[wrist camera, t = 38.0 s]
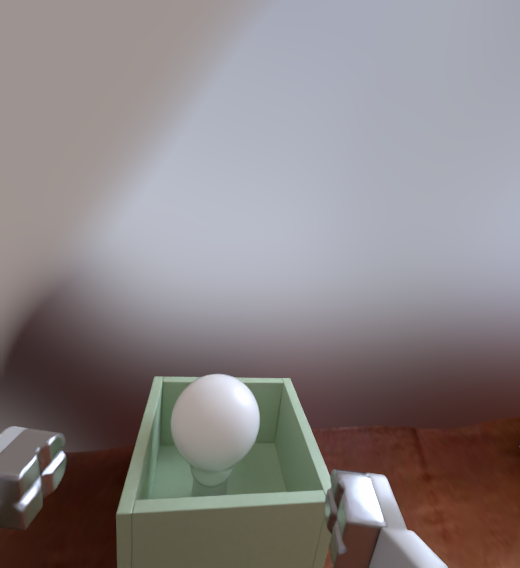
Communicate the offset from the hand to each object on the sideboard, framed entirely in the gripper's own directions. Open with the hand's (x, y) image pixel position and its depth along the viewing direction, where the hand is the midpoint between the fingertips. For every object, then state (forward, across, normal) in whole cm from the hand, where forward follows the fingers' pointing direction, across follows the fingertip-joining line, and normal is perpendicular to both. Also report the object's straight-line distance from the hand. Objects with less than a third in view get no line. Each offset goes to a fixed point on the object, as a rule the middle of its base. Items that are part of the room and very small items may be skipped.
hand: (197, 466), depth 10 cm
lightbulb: (+12, +1, +16) cm, 20 cm away
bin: (+12, 0, +17) cm, 21 cm away
